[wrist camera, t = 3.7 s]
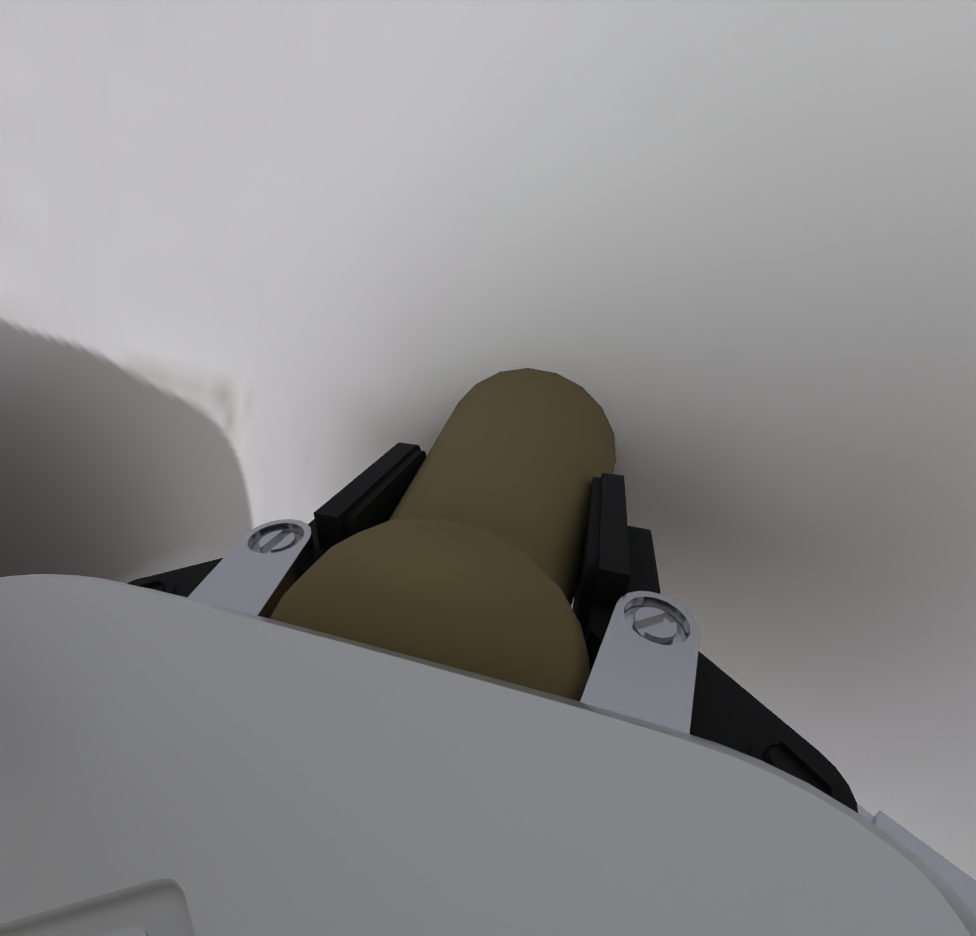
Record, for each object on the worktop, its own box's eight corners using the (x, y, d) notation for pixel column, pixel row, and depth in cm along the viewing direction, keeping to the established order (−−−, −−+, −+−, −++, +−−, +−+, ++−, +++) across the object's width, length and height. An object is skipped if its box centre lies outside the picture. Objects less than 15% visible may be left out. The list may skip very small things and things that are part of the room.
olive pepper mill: (419, 462, 16) (137, 748, 6) (507, 329, 13) (227, 497, 4) (543, 553, 16) (449, 954, 7) (656, 444, 13) (771, 882, 4)
